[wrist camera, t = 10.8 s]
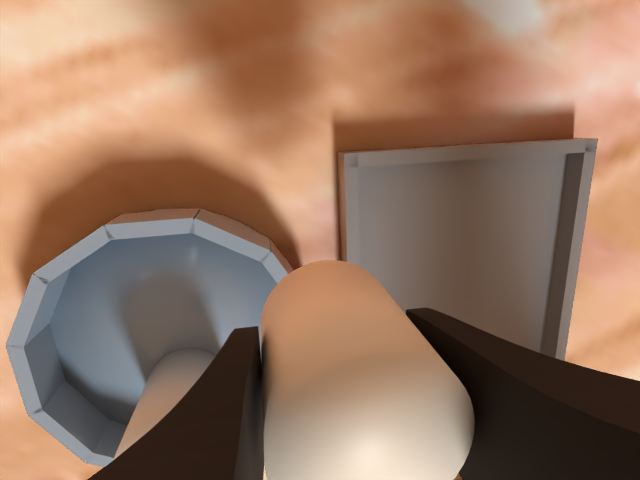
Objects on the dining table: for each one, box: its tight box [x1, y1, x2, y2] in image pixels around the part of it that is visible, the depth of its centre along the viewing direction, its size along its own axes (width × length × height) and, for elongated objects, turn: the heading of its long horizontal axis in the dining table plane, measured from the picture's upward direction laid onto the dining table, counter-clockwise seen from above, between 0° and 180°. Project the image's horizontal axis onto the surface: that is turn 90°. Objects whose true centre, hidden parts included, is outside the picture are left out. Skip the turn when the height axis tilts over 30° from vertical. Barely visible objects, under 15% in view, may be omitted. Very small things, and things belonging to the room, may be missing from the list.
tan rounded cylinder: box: [114, 348, 216, 459], centre depth 17 cm, size 4×4×5 cm
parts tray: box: [338, 138, 598, 361], centre depth 20 cm, size 15×12×1 cm
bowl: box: [6, 208, 294, 467], centre depth 17 cm, size 12×12×3 cm
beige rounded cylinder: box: [261, 260, 475, 480], centre depth 9 cm, size 4×4×5 cm
